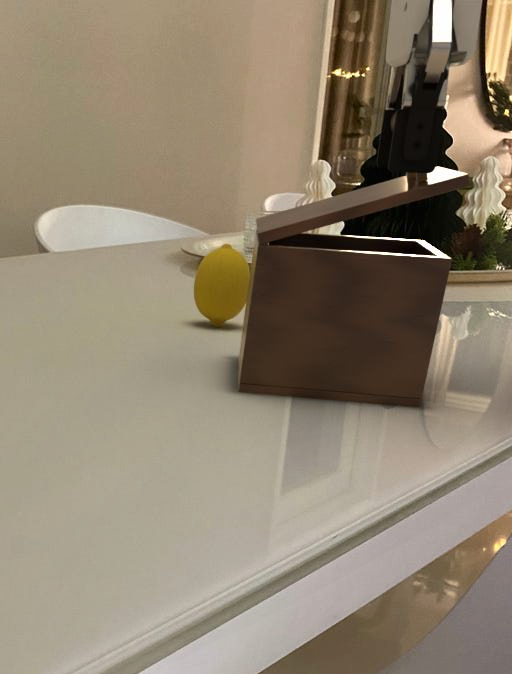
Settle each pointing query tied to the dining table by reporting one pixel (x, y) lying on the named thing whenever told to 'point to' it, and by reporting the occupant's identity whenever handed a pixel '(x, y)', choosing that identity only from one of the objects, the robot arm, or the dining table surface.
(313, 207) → the lid
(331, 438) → the dining table surface
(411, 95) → the robot arm
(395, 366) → the chest
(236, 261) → the lemon
